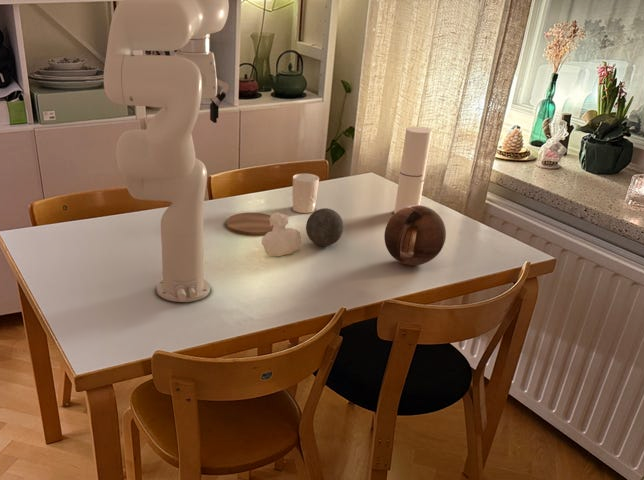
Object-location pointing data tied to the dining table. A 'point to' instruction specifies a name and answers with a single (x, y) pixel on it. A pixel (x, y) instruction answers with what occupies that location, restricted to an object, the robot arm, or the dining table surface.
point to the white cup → (304, 192)
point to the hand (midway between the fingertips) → (194, 123)
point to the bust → (280, 237)
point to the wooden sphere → (415, 235)
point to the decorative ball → (324, 227)
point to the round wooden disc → (249, 223)
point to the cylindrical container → (413, 167)
